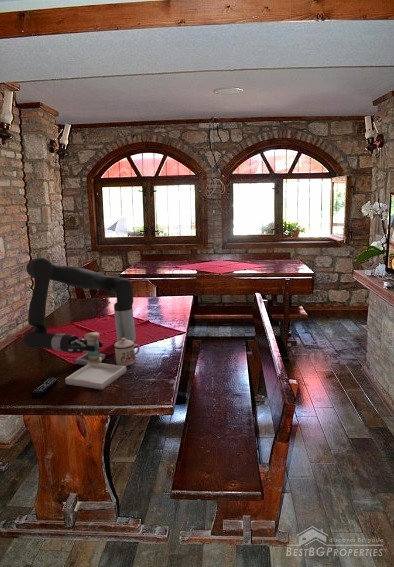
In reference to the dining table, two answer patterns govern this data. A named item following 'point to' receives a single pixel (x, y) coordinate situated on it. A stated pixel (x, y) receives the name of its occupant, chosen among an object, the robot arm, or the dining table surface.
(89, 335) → the spool
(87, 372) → the tray
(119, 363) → the teacup with lid
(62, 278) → the robot arm
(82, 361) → the socket
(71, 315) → the dining table surface
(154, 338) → the dining table surface
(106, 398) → the dining table surface
